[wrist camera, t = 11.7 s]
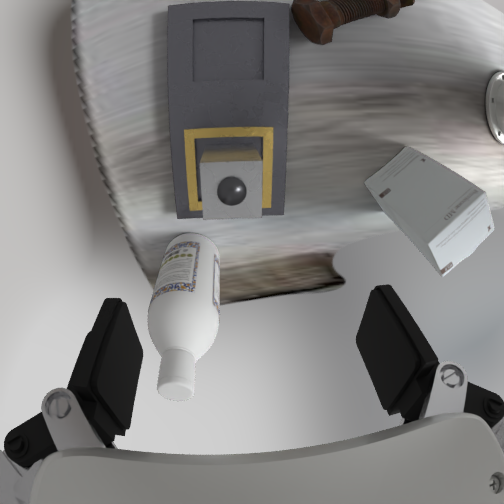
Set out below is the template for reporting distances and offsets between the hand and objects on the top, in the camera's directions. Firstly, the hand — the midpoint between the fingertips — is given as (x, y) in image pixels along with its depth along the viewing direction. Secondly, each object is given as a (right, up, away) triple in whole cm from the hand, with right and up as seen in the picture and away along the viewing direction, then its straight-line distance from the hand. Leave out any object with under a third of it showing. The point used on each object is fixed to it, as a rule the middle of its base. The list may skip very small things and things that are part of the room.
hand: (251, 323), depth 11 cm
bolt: (+12, +30, +12) cm, 34 cm away
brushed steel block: (-2, +12, +20) cm, 23 cm away
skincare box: (+18, +12, +23) cm, 32 cm away
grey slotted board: (-2, +18, +17) cm, 25 cm away
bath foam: (-8, +2, +26) cm, 28 cm away
